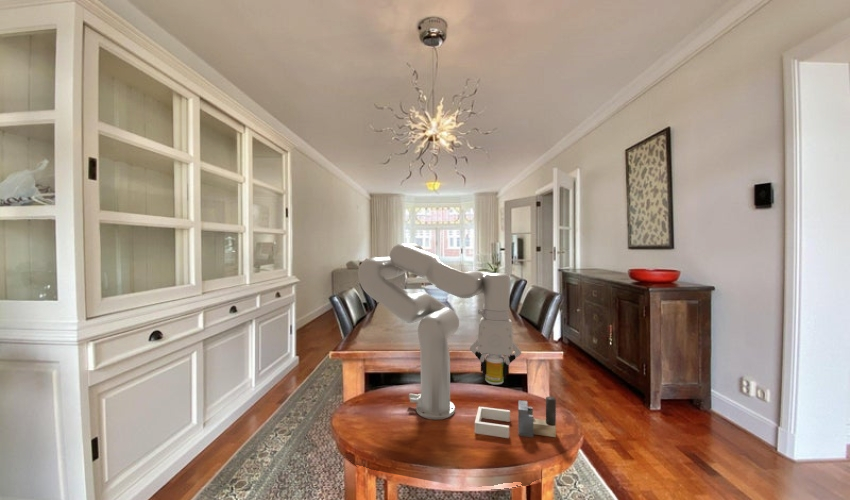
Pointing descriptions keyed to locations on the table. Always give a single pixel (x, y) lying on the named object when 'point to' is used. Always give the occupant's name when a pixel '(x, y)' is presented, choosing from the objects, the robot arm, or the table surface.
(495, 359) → the supplement bottle
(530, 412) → the guide block
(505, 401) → the table surface
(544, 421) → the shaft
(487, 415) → the frame
